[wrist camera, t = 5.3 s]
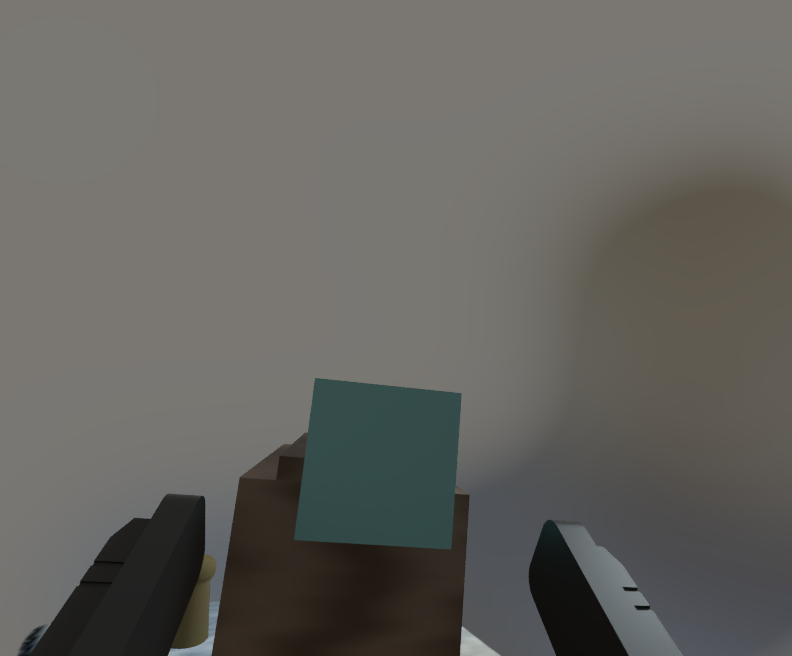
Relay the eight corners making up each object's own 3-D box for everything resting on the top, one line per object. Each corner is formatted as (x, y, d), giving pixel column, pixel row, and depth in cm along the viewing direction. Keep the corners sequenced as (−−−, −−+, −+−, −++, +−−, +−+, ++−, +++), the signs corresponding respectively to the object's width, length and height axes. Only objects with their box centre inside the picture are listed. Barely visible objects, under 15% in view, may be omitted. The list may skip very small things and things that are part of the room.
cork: (212, 626, 66) (224, 550, 69) (203, 648, 61) (216, 564, 63) (170, 626, 65) (184, 549, 67) (157, 648, 60) (172, 562, 62)
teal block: (372, 451, 34) (377, 401, 35) (451, 549, 11) (461, 393, 12) (322, 447, 34) (329, 396, 35) (293, 540, 11) (315, 378, 11)
